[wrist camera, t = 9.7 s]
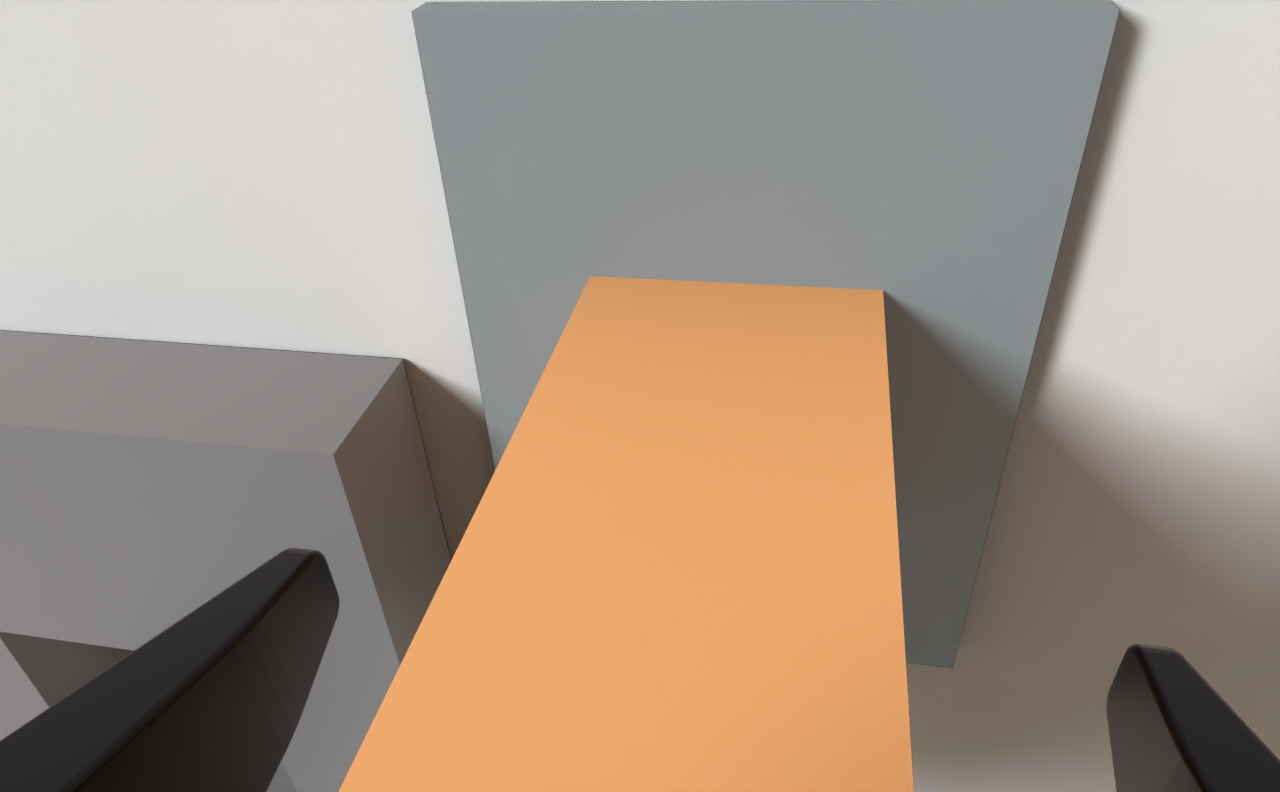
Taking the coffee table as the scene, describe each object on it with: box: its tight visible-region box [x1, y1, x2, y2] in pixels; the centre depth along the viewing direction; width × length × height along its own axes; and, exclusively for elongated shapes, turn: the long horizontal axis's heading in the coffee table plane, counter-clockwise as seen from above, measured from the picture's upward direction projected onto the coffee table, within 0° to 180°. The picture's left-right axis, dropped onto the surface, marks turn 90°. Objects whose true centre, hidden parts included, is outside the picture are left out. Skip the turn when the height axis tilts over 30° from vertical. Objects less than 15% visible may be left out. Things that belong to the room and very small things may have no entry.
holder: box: [0, 330, 451, 792], centre depth 19 cm, size 16×12×2 cm
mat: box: [412, 0, 1119, 668], centre depth 14 cm, size 11×8×1 cm
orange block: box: [339, 276, 914, 792], centre depth 10 cm, size 4×4×9 cm
